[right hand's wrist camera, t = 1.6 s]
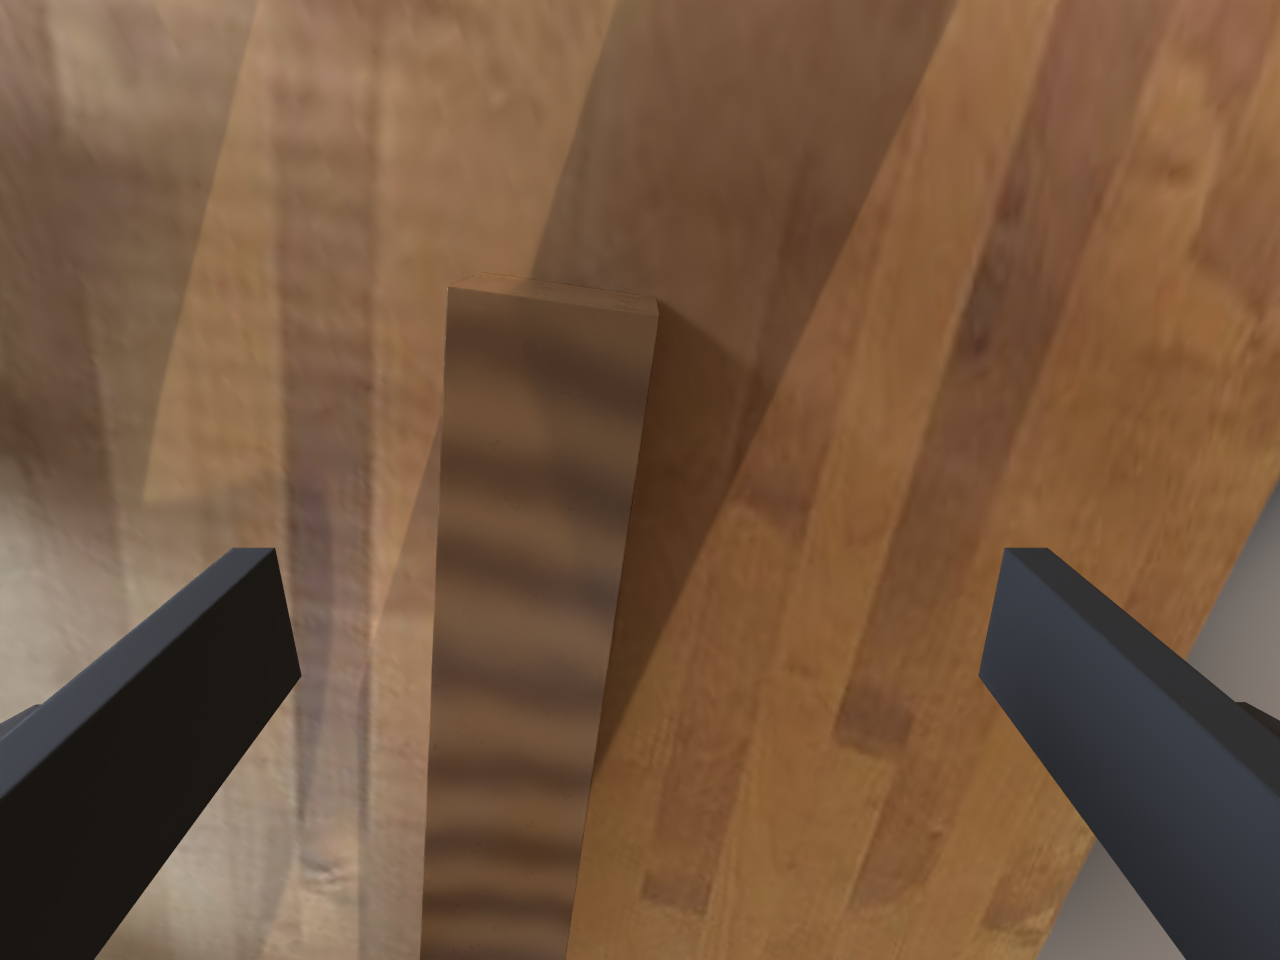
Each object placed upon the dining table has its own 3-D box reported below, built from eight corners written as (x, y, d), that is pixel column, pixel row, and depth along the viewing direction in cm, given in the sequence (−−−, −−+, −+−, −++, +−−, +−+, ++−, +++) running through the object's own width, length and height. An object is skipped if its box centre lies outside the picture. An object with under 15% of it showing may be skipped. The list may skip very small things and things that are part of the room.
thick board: (482, 272, 35) (447, 285, 29) (656, 297, 36) (659, 315, 29) (438, 1039, 56) (412, 1147, 50) (548, 1049, 57) (536, 1158, 50)
